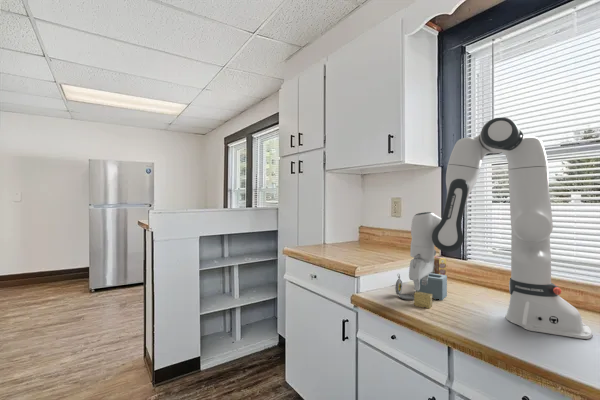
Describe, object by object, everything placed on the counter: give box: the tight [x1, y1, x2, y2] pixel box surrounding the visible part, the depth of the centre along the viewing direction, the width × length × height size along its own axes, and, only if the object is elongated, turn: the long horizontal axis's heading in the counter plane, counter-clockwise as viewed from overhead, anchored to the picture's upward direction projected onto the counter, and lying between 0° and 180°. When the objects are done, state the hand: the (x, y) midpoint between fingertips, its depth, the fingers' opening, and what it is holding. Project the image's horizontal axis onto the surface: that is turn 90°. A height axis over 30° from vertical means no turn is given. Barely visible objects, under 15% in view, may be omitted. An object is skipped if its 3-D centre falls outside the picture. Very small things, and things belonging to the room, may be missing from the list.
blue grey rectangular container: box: [415, 273, 448, 301], centre depth 135 cm, size 11×8×9 cm
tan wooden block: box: [413, 290, 433, 309], centre depth 122 cm, size 6×3×5 cm, turn 52°
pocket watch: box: [394, 273, 414, 301], centre depth 133 cm, size 8×8×10 cm
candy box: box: [431, 255, 447, 275], centre depth 146 cm, size 9×4×15 cm, turn 13°
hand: (421, 287), depth 123 cm, fingers open, 8 cm apart
